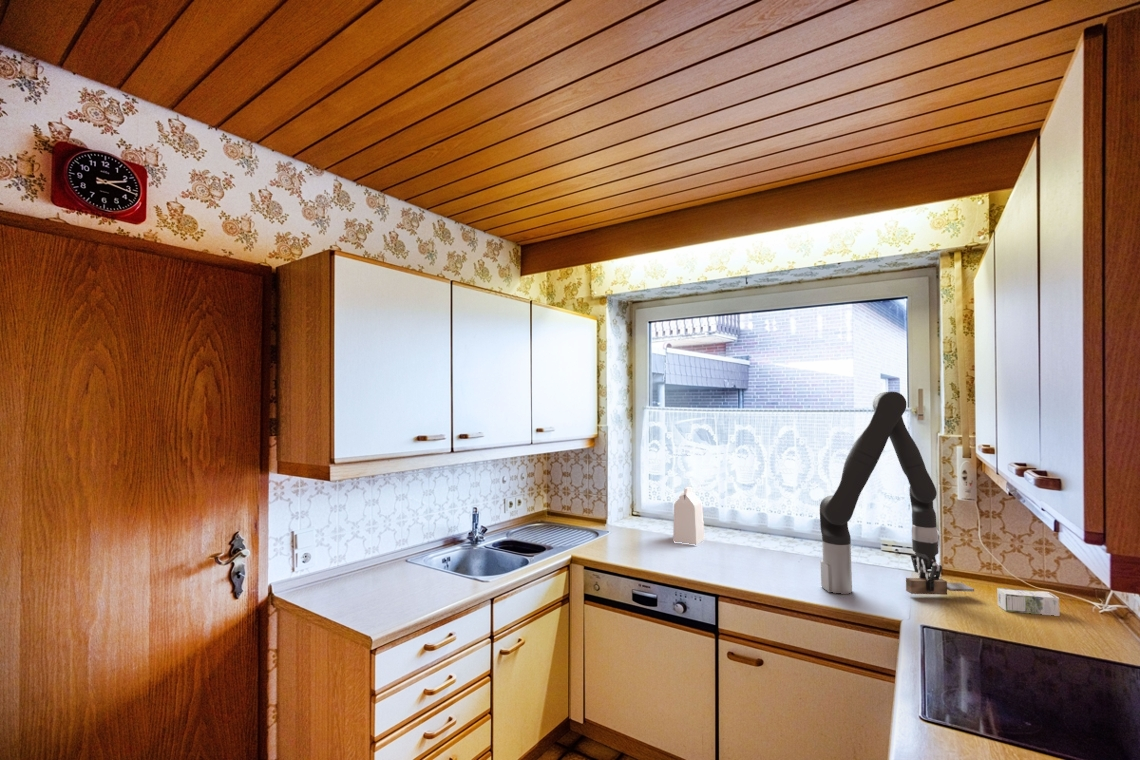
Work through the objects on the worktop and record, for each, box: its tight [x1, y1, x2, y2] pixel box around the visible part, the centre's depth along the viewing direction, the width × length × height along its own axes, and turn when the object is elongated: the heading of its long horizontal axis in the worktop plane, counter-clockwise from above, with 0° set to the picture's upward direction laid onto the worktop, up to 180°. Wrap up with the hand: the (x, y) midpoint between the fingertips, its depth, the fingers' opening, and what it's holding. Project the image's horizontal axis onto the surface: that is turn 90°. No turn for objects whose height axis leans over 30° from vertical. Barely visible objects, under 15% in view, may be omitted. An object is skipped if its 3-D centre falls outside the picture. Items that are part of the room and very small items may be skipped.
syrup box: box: [996, 587, 1061, 617], centre depth 171 cm, size 6×6×14 cm
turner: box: [905, 577, 975, 595], centre depth 183 cm, size 20×6×4 cm, turn 88°
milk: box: [672, 486, 706, 545], centre depth 256 cm, size 12×12×26 cm
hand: (927, 588), depth 183 cm, fingers closed on turner, 3 cm apart
